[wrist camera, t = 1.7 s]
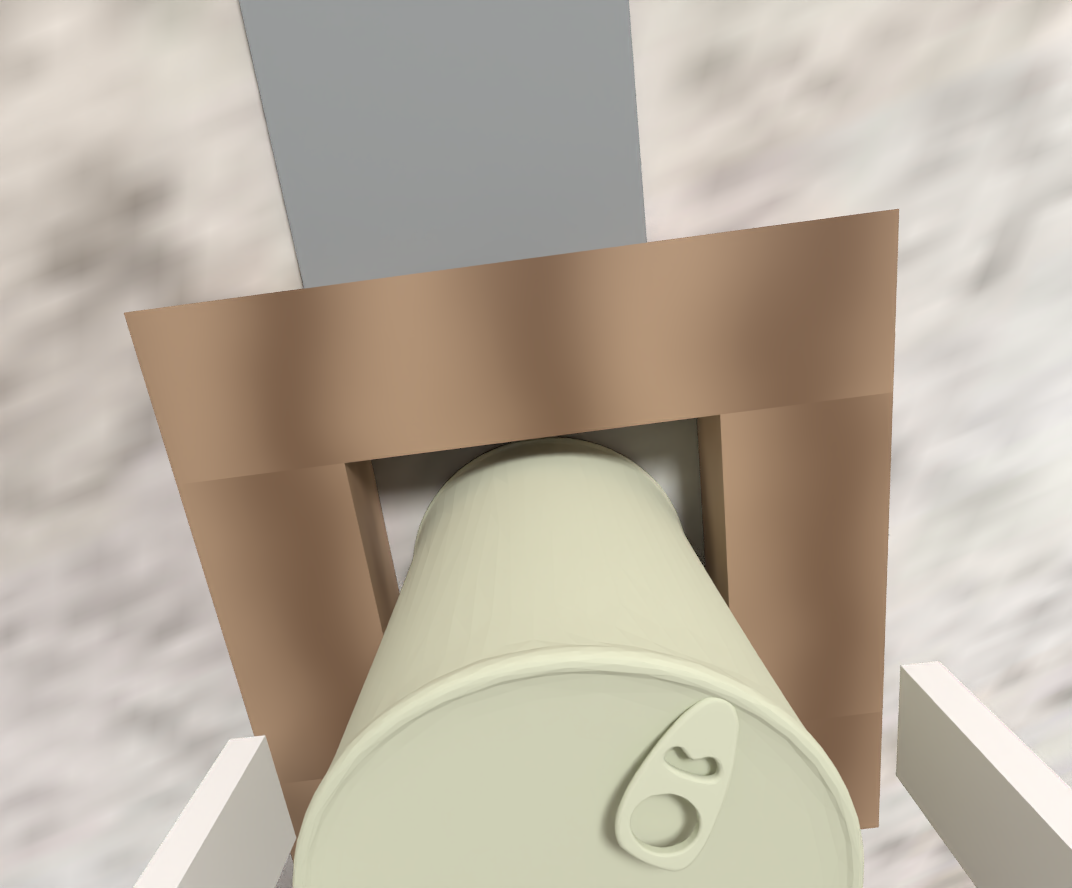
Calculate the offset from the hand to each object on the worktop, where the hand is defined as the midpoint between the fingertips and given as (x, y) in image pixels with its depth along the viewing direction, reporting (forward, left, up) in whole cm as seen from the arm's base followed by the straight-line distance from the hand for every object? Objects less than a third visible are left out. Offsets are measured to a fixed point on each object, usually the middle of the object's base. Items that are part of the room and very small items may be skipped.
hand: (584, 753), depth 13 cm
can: (0, 0, -9) cm, 9 cm away
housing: (0, 0, -8) cm, 8 cm away
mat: (-1, +15, -8) cm, 17 cm away
